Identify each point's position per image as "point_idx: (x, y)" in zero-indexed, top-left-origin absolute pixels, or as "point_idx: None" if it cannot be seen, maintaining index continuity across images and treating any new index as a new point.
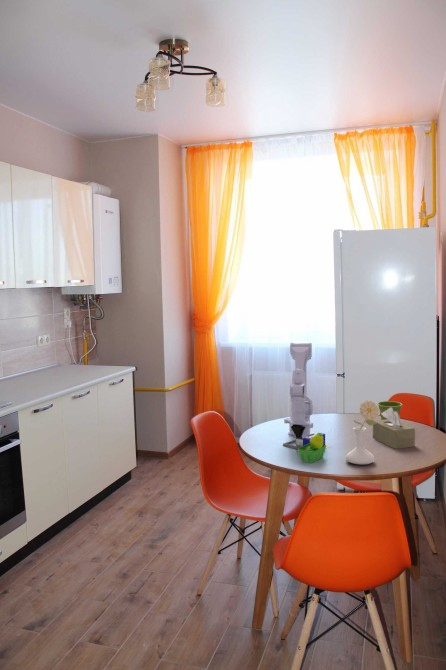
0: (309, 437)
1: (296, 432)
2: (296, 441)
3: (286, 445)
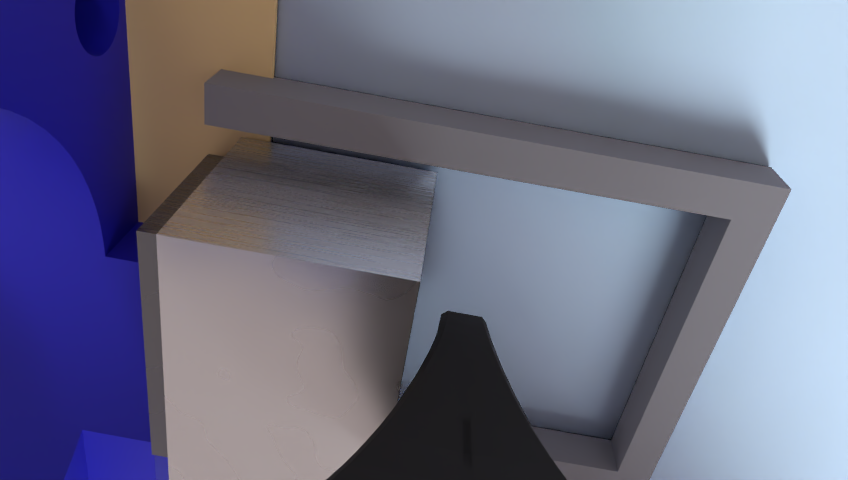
0: (194, 464)
1: (441, 462)
2: (419, 238)
3: (679, 158)
